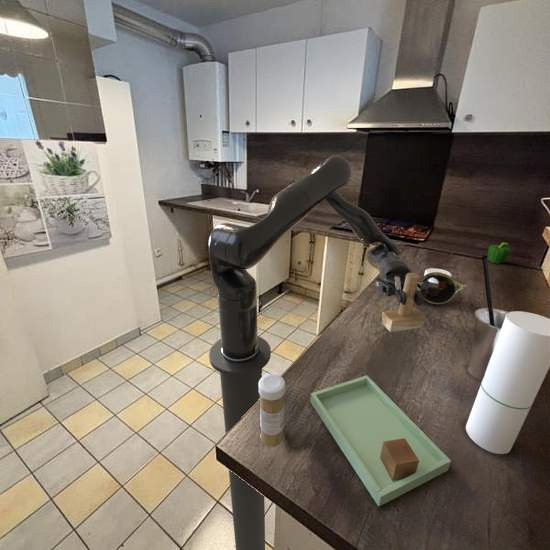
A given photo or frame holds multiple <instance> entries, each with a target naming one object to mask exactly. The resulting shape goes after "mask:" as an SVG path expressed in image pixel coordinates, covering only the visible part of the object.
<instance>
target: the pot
mask: <svg viewBox="0 0 550 550" xmlns="http://www.w3.org/2000/svg"><path fill="white" fill-rule="evenodd" d="M430 278H434V279H436V280H437V281H438V284H437V289H438V290H439V289H441V290H440V291H439V292H438V293H437V294H435V295H432V294H431V293H429V292H428V291H427V294H426V297H425V299H424V301H426V302H428V303H430V304H435V305H442V304H446V303H448V302H450V301H452V299H454V297H455V296H456V294H457V293H458V292H459V291H460V290H463V289H464V287H469V286H470V284H465V283H461V282H459V281H458V280H455V278H453V277H450V276H449V275H447V274H444V273H441V272H432V273H428V274H426V275H425V276H424V275H423V276H422V277H420V278H419V281H418V282H420V283H422V282H424V281H428V280H429V279H430ZM418 288H419V287H418ZM419 289H420V288H419Z"/></svg>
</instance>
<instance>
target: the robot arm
mask: <svg viewBox="0 0 550 550" xmlns="http://www.w3.org/2000/svg"><path fill="white" fill-rule="evenodd" d="M351 176H352V167H351V164H350V162H349V161H348V160H347V159H346V158H345V157H343V156H341V155H332V156H329V157H328V158H326V159H325V160H324V161H322V162H321V163H319V164H318V165H317V166H315V167H314V168H313V169H312V170H311V171H310V173H309V174H307V175H306V176H304V177H302V178H300V179H298V180H297V181H295V182H293V183H291V184H290V185H287V186H286V187H284V188H283V189H282V190H280V191H278V193H276V194H275V195H274V196H273V197H272V198H271V200H270V202H269V205H268V211H267V214H266V216H264V217H263V218H262V219H260V220H259V221H258V222H256V223H254V224H252V225H250V226H246V225H245V226H244V225H240V224H235V223H229V222H223V223H220V224H218V225H216V226H215V227H214V228H213V230H212V231H211V233H210V236H209V239H208V255H209V256H208V257H209V263H210V271H211V272H210V273H211V276H212V277H211V278H212V283H213V284H214V286H215V288H216V295H217V304H218V305H217V306H218V318H219V329H220V339H221V343H222V355H223V357H224V358H225V359H226V360H228V361H230V362H234V363H242V362H247V361H249V360H251V359H253V358H254V357H255V356H256V355H257V354H258V347H259V341H258V336H259V335H258V334H259V333H258V298H257V295H258V293H257V291H258V290H257V281H256V279H255V278H254V277H253V275H251V274H250V273H249V272H248V271H247V270H249V269H251V268H253V267H254V266H256V265H257V264H259V262H260V261H261V260H263V258H264V257H266V255H267V254H268V253H269V252H270V250H271V249H272V248H273V247H274V246H275V245H277V243H278V242H279V241H280V240H281V239H282V238H283V237H284V236H285V235H287V233H289V232H290V231H291V230H292V229H293V228H294V227H295V226H296V225H298V224H299V223H301V222H302V221H303V220H304V219H305V218H307V217H308V216H309V215H310V214H311V213H312V212H313V211H314V210H315V209H316V208H317V207H318V206H319V205H320V204H321V203H322V202H323V201H325V202H326V203H327V205H328V206H329V207H330V208H331V209H333V210H334V212H336V213H337V214H338V216H340V217H341V218H342V220H343V221H344V222H346V224H347V225H348V227H350V229H351V230H352V233H354V234H355V236H356V237H357V239H358V241H360V243H361V244H362V245H364V246H369V245H372V244H375V243H378V244H376V245H375V246H373V247H372V248H369V250H367V252H366V255H365V258H366V260H367V262H368V264H369V265H370V266H372V267H373V268H375V269H376V270H378V273H379V276H380V277H377V278H375V283H374V288H376V290H378V291H379V292H381V294H383V295H385V296H386V297H392V296H393V297H394V298H395V299H396V300H397V302H398V303H399V304H400V303H401V304H402V305H406V300H407V296H406V295H405V293H404V291H403V288H404V283H405V279H406V274H407V273H413V272H412V270H411V269H410V268H409V266H408V265H407V264H406V263H405V261H404V260H403V259H401V258H400V255H401V249H400V246H399V245H398V243H396V242H395V241H394V240H392V239H391V238H389V237H388V236H387V235H386V233H384V232H383V231H382V230H381V229H380V228H379V226H378V224H377V223H376V222H375V220H374V218H373V217H372V216H371V215H370V214H369V212H367V211H366V210H364V209H363V208H361V207H360V206H357V205H356V204H354V203H352V202H350V201H349V200H348V199H346V198H345V197H343V195H342V194H341V193H340V192H339V191H338V190H339V189H341V188H342V187H344V186H346V184H348V182H349V181H350V179H351ZM430 283H431V282H429V281H424V282H422V283H420V282H419V281H418V285H417V290H416V294H415V298H414V304H416V306H417V307H421V306H422V305H423V304H424V301H425V300H424V299H425V297H426V294H427V292H428V290H429V287H430ZM418 287H419V288H420V289H419V288H418Z"/></svg>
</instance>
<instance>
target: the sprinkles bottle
mask: <svg viewBox="0 0 550 550" xmlns="http://www.w3.org/2000/svg"><path fill="white" fill-rule="evenodd" d="M285 393H286V382H285V379H284V377H282V376H281V375H279V374H277V373H266V374H264V375H262V378H261V379H260V380H259V394H260V427H261V429H260V430H261V433H260V439H261V441H262V443H263V446H266V447H268V448H276V447H278V446H280V445H281V444H282V443H283V441H284V439H285V434H284V427H285Z"/></svg>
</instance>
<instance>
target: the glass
mask: <svg viewBox="0 0 550 550" xmlns="http://www.w3.org/2000/svg"><path fill="white" fill-rule="evenodd" d="M481 261H482V270H483V278H484V287H485V295H486V296H485V297H486V304H487V307H481V308H479V309H476V310H475V312H474V316H475V321H474V322H475V323H474V329H473V334H472V340H471V347H470V353H469V358H468V363H467V367H466V370H467V372H468V374H469V375H470V376H471V377H473V378H474V379H476V380H478V381H480V382H482V380H483V378H484V375H485V372H486V369H487V367H488V364H489V361H490V358H491V356H492V353H493V350H494V347H495V345H496V342H497V339H498V336H499V334H500V331H501V328H502V325H503V323H504V320H505V317H506V314H507V313H509V312H510V311H507V310H502V309H497V308H494V305H493V296H492V287H491V278H490V269H489V260H488V255H484V256H482V257H481Z"/></svg>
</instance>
